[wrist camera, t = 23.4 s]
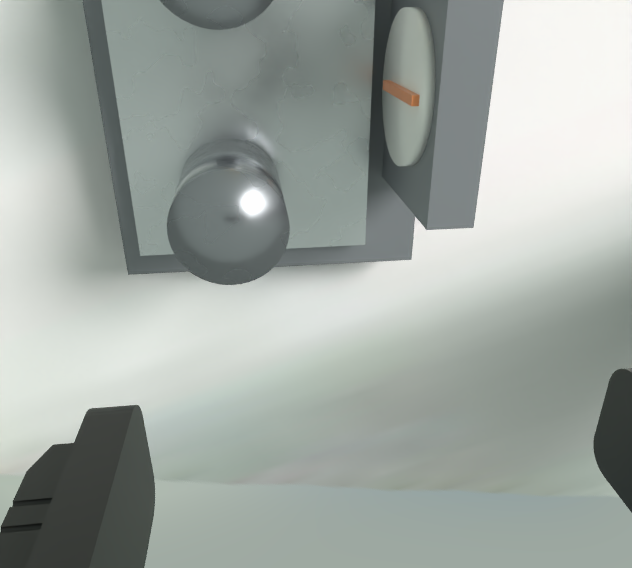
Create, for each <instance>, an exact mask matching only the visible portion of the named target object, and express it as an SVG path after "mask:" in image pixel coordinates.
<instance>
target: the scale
mask: <svg viewBox="0 0 632 568" xmlns="http://www.w3.org/2000/svg"><path fill="white" fill-rule="evenodd" d="M503 2H504V0H273V1H272V3H271V4H270V5H269V7H268V8H267V9H266V10H265V11H264V12H263V13H262V14H260V15H259V16H258V17H256V18H255V19H254V20H252V21H250V22H248V23H247V24H244V25H242V26H239V27H235V28H231V29H223V30H214V29H206V28H201V27H198V26H195V25H192V24H190V23H188V22H186V21H184V20H182V19H180V18H179V17H177V16H176V15H174V14H173V13H172V12H171V11H170V10H168V9H167V8H166V7H165V6H164V5H163V4H162V3H161V2H160V1H159V0H83V5H84V11H85V17H86V23H87V29H88V35H89V41H90V47H91V53H92V59H93V65H94V71H95V77H96V83H97V89H98V95H99V101H100V107H101V113H102V119H103V125H104V131H105V137H106V143H107V149H108V155H109V161H110V168H111V174H112V180H113V186H114V192H115V198H116V204H117V210H118V216H119V222H120V228H121V234H122V240H123V246H124V252H125V258H126V264H127V270H128V275H129V274H148V273H167V272H186V271H189V270H187V269H186V268H185V267H184V266H183V265H182V264H181V263H180V261H179V260H178V259H177V257H176V256H175V254H174V252H173V250H172V249H171V246H170V243H169V240H168V235H167V217H168V213H169V209H170V206H171V203H172V200H173V197H174V194H175V191H176V188H177V185H178V182H179V179H180V176H181V173H182V170H183V168H184V165H185V164H186V162H187V160H188V159H189V157H190V156H191V155H192V154H193V153H194V152H195V151H196V150H197V149H198V148H200V147H201V146H202V145H204V144H206V143H208V142H211V141H213V140H218V139H224V138H234V139H240V140H244V141H247V142H249V143H251V144H254V145H255V146H257V147H258V148H260V149H261V150H262V151H263V152H265V153H266V155H267V156H268V157H269V158H270V159H271V161H272V162H273V164H274V166H275V168H276V170H277V173H278V176H279V180H280V184H281V188H282V193H283V197H284V201H285V205H286V209H287V213H288V218H289V225H290V234H289V240H288V244H287V247H286V250H285V252H284V254H283V256H282V257H281V259H280V260H279V262H278V263H277V264H276V265H275V266H274V267H281V266H300V265H319V264H338V263H357V262H376V261H395V260H411V258H412V245H413V233H414V221H415V216H416V218H417V219H418V220H419V221H420V222H421V224H422V225H423V226H424V227H425V228H426V230H434V229H455V228H473V227H474V220H475V212H476V205H477V197H478V190H479V182H480V174H481V167H482V159H483V152H484V144H485V137H486V129H487V122H488V114H489V107H490V99H491V92H492V84H493V77H494V69H495V62H496V54H497V47H498V39H499V32H500V24H501V17H502V9H503Z"/></svg>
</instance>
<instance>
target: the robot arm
mask: <svg viewBox="0 0 632 568" xmlns="http://www.w3.org/2000/svg"><path fill="white" fill-rule="evenodd" d="M594 454H595V458H596V461H597V464H598V467H599V469H600V471H601V472H602V474H603V475H604V477H605V478H606V480H607V481H608V482H609V483H610V485H611V486H612V487H613V489H614V490H615V491H616V493H617V494H618V495H619V497H620V498H621V499H622V500H623V502H624V503H625V504H626V506H627V507H628V508H629V509H630V511H631V512H632V368H627V369H619V370H617V371H615V372H614V373H613V374H612V376H611V378H610V381H609V384H608V388H607V392H606V395H605V399H604V403H603V407H602V410H601V414H600V418H599V421H598V425H597V429H596V432H595V436H594ZM154 504H155V483H154V475H153V469H152V464H151V458H150V453H149V447H148V442H147V437H146V431H145V426H144V420H143V415H142V411H141V409H140V407H139V406H138V405H130V406H117V407H104V408H92V409H89V410H88V411H87V412H86V414H85V417H84V419H83V422H82V424H81V427H80V429H79V432H78V434H77V437H76V440H75V442H74V443H69V444H57V445H52V446H51V447H50V448H49V449H48V450H47V451H46V452H45V453H44V454H43V456H42V457H41V458H40V459H39V460H38V461H37V462H36V463H35V464H34V465H33V466H32V467H31V468H30V469H29V470H28V471H27V472H26V474H25V477H24V479H23V481H22V483H21V485H20V487H19V489H18V491H17V494H16V496H15V498H14V500H13V507H10V508H9V510H8V513H7V515H6V517H5V519H4V521H3V523H2V525H1V532H0V568H144V566H145V560H146V555H147V549H148V544H149V537H150V533H151V527H152V522H153V516H154V506H155V505H154Z"/></svg>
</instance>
